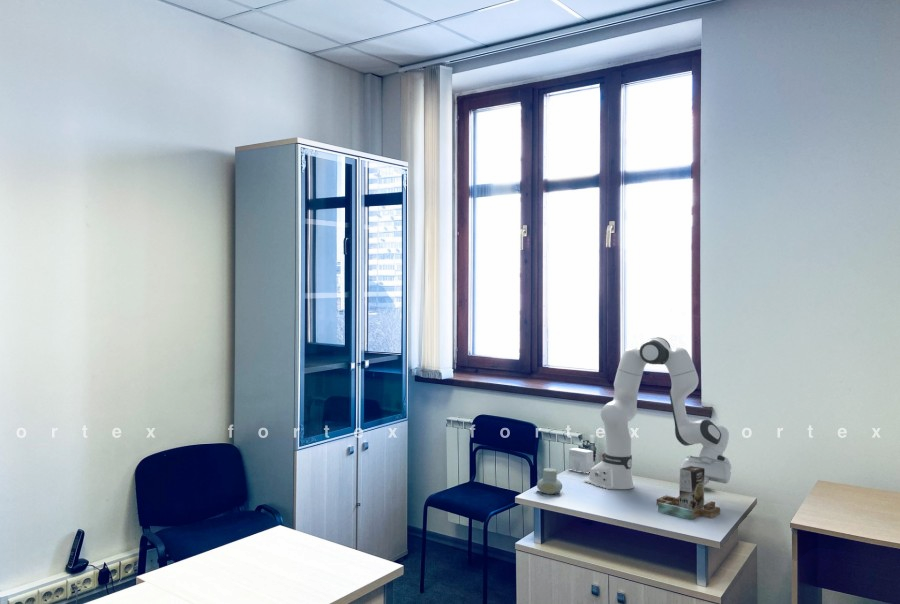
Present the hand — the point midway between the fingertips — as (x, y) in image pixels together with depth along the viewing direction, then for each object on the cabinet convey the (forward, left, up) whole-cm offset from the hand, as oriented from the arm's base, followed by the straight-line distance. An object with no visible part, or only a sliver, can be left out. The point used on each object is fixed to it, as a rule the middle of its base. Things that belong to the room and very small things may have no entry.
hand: (699, 486), depth 283 cm
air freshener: (-52, -32, -8) cm, 62 cm away
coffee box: (0, -7, -8) cm, 10 cm away
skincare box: (-64, +10, -8) cm, 66 cm away
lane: (0, -11, -7) cm, 13 cm away
